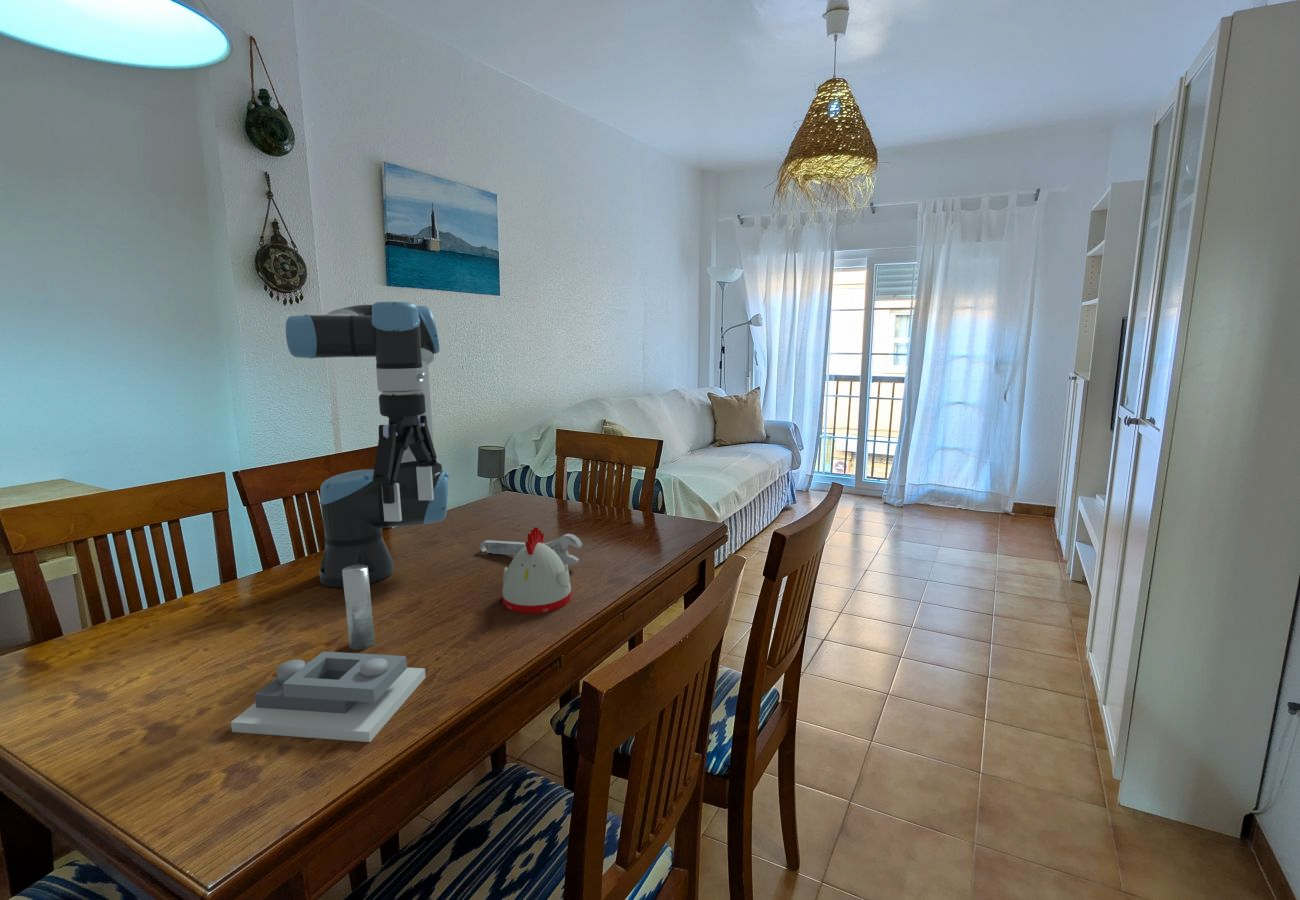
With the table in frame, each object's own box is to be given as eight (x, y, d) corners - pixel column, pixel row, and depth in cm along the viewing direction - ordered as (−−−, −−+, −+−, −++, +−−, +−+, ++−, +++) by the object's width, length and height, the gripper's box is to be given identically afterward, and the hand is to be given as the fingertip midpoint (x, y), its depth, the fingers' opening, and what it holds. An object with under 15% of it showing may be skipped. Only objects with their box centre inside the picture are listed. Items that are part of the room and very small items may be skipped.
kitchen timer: (491, 610, 123) (487, 537, 120) (517, 583, 136) (514, 517, 133) (559, 615, 120) (557, 541, 118) (579, 587, 134) (577, 520, 131)
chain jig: (232, 731, 85) (226, 688, 84) (307, 670, 101) (303, 632, 100) (369, 742, 83) (365, 697, 82) (425, 677, 99) (422, 639, 98)
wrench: (486, 561, 157) (585, 568, 143) (481, 563, 156) (581, 570, 141) (482, 530, 156) (581, 534, 142) (477, 532, 155) (576, 536, 140)
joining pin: (344, 649, 108) (337, 572, 105) (358, 638, 112) (350, 564, 109) (366, 650, 107) (359, 573, 105) (379, 639, 111) (372, 564, 109)
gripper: (388, 399, 97) (399, 531, 101) (449, 386, 121) (456, 492, 125) (341, 399, 97) (354, 530, 101) (411, 386, 122) (419, 492, 125)
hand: (410, 509), depth 113 cm, fingers open, 13 cm apart
